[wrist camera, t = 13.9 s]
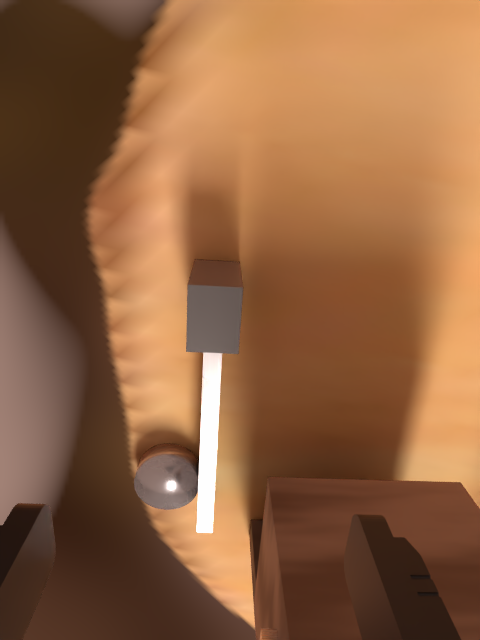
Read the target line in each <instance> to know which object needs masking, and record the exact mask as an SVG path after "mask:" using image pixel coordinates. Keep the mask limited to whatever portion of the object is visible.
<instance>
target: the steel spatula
mask: <svg viewBox="0 0 480 640" xmlns="http://www.w3.org/2000/svg"><path fill="white" fill-rule="evenodd" d="M242 297H243V283H242V276H241V268H240V262H233V261H215V260H197V259H195V261H194V265H193V268H192V272H191V275H190V279H189V282H188V296H187V343H186V352H203V377H202V404H201V430H200V457H199V484H198V511H197V532H210V533H212V529H213V511H214V493H215V475H216V456H217V438H218V420H219V402H220V383H221V365H222V353H227V354H239V340H240V326H241V311H242Z"/></svg>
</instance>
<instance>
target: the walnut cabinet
mask: <svg viewBox="0 0 480 640" xmlns="http://www.w3.org/2000/svg"><path fill="white" fill-rule="evenodd" d="M354 514H363V515H382V516H384V517H385V519H386V521H387V523H388V526H389V528H390V530H391V533H392V535H393V537H405V538H406V539H407V541H408V542H409V543H410V544H411V545H412V546H413V547H414V548H415V549H416V550H417V552H418V553H419V554H420V555H421V557H422V559H423V561H424V563H425V565H426V567H427V569H428V571H429V573H430V575H431V576H430V577H431V580H433V582H434V584H435V586H436V588H437V590H438V592H439V597H441V598H442V600H443V603H444V605H445V607H446V609H447V611H448V613H449V615H450V617H451V619H452V621H453V623H454V626H455V628H456V630H457V632H458V634H459V636H460V638H461V640H480V509H479V507H478V506H477V505H476V503H475V502H474V500H473V499H472V498H471V496H470V495H469V494H468V492H467V491H466V489H465V488H464V487H463V485H462V484H461V483H460V482H426V481H391V480H357V479H323V478H289V477H268V480H267V489H266V498H265V507H264V516H263V520H251V527H250V552H251V568H252V583H253V599H254V615H255V630H256V640H362V637H361V634H360V630H359V626H358V623H357V619H356V615H355V612H354V608H353V605H352V601H351V597H350V594H349V590H348V586H347V583H346V578H345V572H344V554H345V549H346V544H347V539H348V535H349V530H350V525H351V520H352V517H353V515H354Z"/></svg>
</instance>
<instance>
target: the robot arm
mask: <svg viewBox="0 0 480 640" xmlns="http://www.w3.org/2000/svg"><path fill="white" fill-rule="evenodd" d="M55 551H56V546H55V538H54V530H53V523H52V515H51V508H50V506H49V505H48V504H23V503H19V504H17V505H15V507H14V508H13V509H12V511H11V513H10V514H9V516H8V517H7V519H6V521H5V522H4V524H3V525H0V640H23V637H24V635H25V633H26V630H27V628H28V625H29V623H30V620H31V618H32V616H33V613H34V611H35V609H36V607H37V604H38V602H39V600H40V597H41V595H42V593H43V590H44V588H45V585H46V583H47V581H48V578H49V576H50V574H51V571H52V568H53V564H54V559H55ZM344 572H345V578H346V583H347V586H348V590H349V594H350V597H351V601H352V605H353V608H354V612H355V615H356V619H357V623H358V626H359V630H360V634H361V637H362V640H461V638H460V636H459V634H458V632H457V630H456V628H455V626H454V623H453V621H452V619H451V617H450V615H449V613H448V611H447V609H446V607H445V605H444V603H443V600H442V598H441V597H439V592H438V590H437V588H436V586H435V584H434V582H433V580H431V577H430V576H431V575H430V573H429V571H428V569H427V567H426V565H425V563H424V561H423V559H422V557H421V555H420V554H419V553H418V552H417V550H416V549H415V548H414V547H413V546H412V545H411V544H410V543H409V542H408V541H407V539H406V538H405V537H393V535H392V533H391V530H390V528H389V526H388V523H387V521H386V519H385V517H384V516H382V515H363V514H354V515H353V517H352V520H351V525H350V530H349V535H348V539H347V544H346V549H345V554H344Z"/></svg>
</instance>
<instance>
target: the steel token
mask: <svg viewBox="0 0 480 640" xmlns="http://www.w3.org/2000/svg"><path fill="white" fill-rule="evenodd" d="M198 484H199V461H198V459H197V458H196V456H195V455H194V454H193V453H192V452H191V451H190V450H188V449H187V448H185V447H183V446H180V445H177V444H160V445H157V446H154V447H152V448H150V449H149V450H147V451H146V452H145V453H144V454H143V455H142V457H141V459H140V462H139V465H138V469H137V472H136V476H135V479H134V487H135V491H136V492H137V495H138V496H139V497H140V499H141V500H142V501H144V502H145V503H146V504H148V505H150V506H152V507H155V508H158V509H167V510H169V509H177V508H180V507H183V506H185V505H186V504H188V503H189V502H191V501H192V500H193V499H194V497H195V496H196V494H197V492H198Z"/></svg>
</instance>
